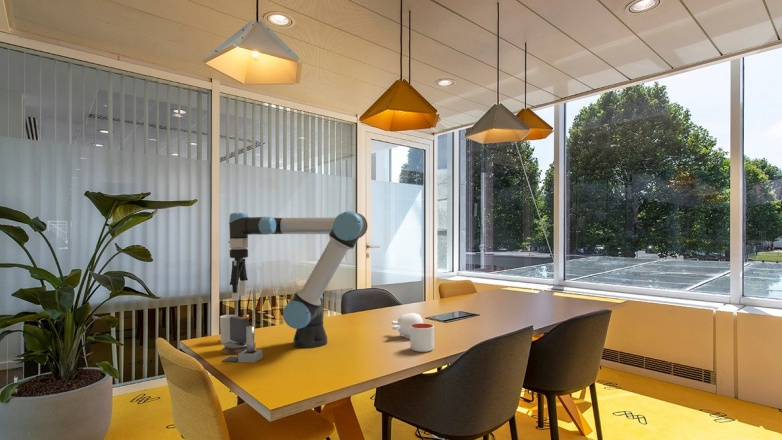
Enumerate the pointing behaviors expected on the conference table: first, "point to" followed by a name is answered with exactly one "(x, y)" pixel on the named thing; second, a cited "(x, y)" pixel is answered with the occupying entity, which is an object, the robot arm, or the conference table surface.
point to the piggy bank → (406, 323)
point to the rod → (250, 339)
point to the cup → (422, 337)
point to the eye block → (250, 356)
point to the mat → (230, 359)
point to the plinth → (234, 350)
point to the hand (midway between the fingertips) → (239, 298)
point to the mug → (225, 328)
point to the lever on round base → (237, 332)
